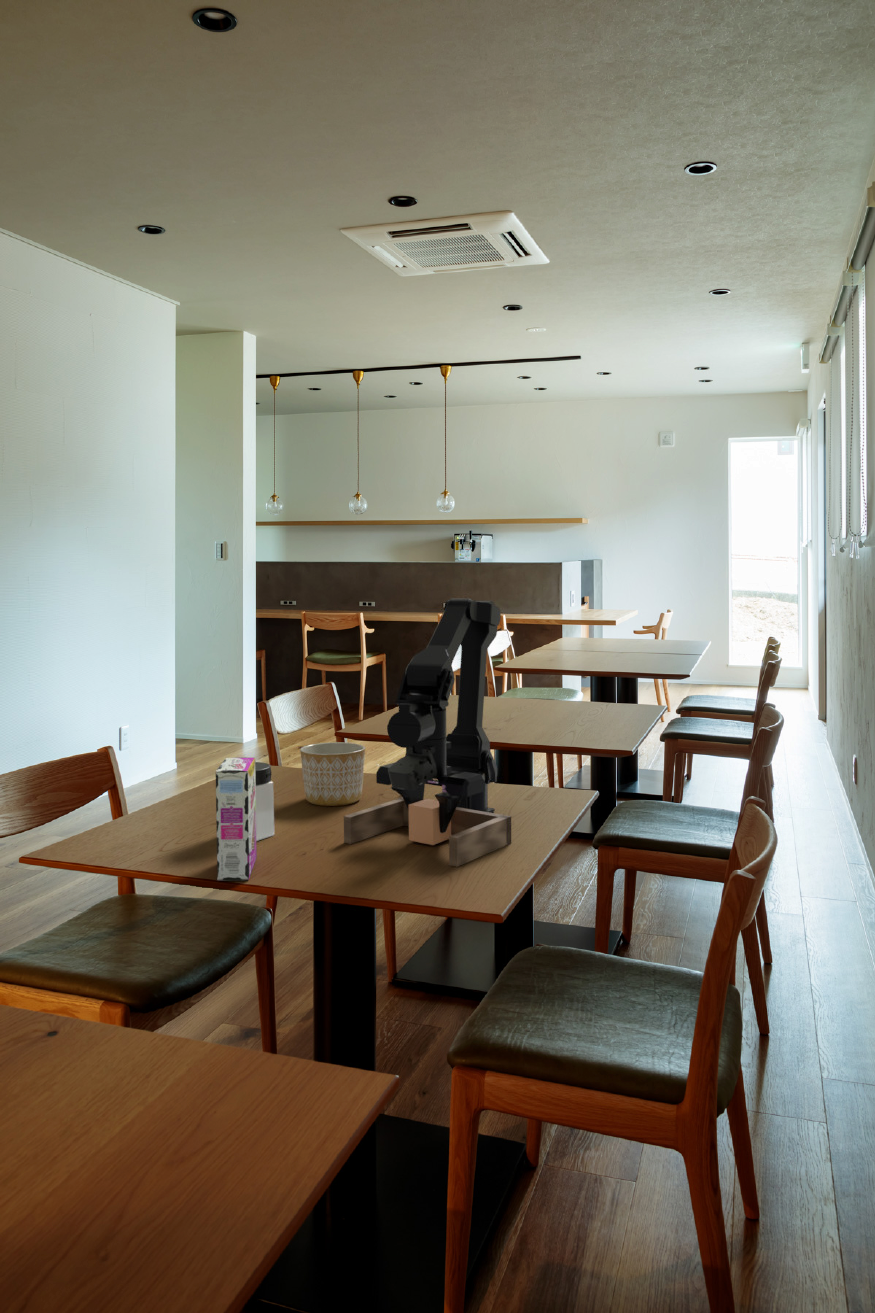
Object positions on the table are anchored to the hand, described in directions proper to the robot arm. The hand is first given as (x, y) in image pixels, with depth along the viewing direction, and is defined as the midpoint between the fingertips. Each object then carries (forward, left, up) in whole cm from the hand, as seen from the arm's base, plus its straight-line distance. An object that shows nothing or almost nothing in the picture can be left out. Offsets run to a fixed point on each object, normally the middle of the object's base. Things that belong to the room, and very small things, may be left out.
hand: (430, 830), depth 160 cm
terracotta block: (0, 0, -2) cm, 2 cm away
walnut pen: (+2, 0, -2) cm, 2 cm away
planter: (-12, -33, -2) cm, 35 cm away
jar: (+15, -28, -2) cm, 32 cm away
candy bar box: (+29, -15, -2) cm, 32 cm away
